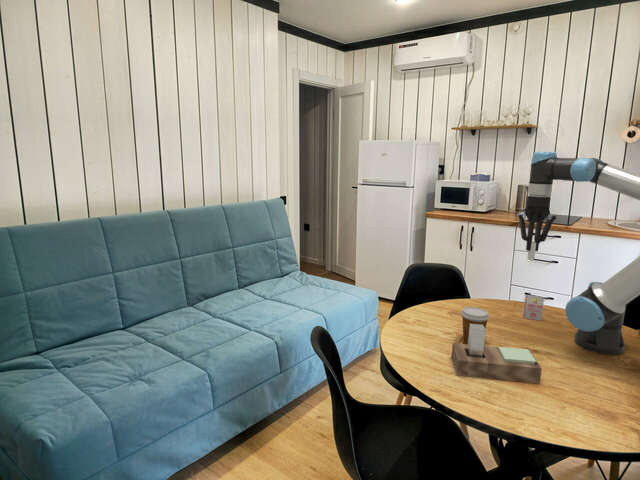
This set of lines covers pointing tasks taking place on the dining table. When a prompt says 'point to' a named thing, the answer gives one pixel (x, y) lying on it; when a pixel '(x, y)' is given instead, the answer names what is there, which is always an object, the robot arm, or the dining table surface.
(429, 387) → the dining table surface
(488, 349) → the walnut block
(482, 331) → the steel pin
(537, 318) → the tea bag
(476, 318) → the disposable coffee cup
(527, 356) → the plate
